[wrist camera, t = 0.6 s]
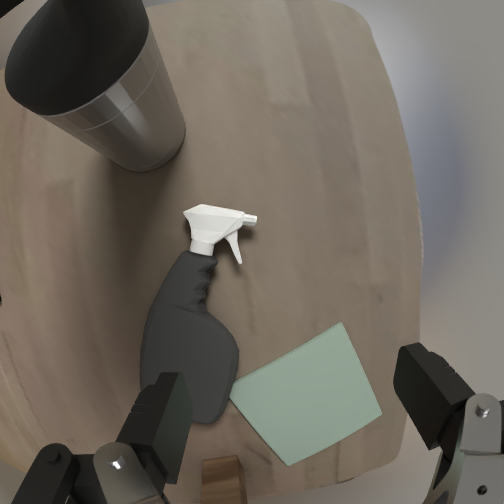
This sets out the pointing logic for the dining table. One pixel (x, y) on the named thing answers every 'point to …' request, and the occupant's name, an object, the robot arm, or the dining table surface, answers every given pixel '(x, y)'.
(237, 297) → the dining table surface
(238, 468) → the walnut block
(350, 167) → the dining table surface
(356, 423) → the rubber mat
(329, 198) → the dining table surface
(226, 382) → the spray bottle
